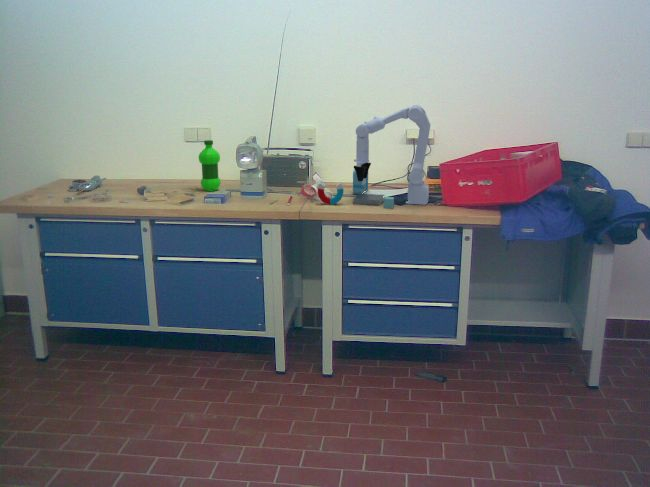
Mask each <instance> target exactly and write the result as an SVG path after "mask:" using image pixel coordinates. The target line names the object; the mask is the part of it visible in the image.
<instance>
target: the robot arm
mask: <svg viewBox="0 0 650 487" xmlns="http://www.w3.org/2000/svg"><path fill="white" fill-rule="evenodd" d="M400 119H402V120H403V119H404V120H407V119H409V120H410V121H412V122H413V123H415V124H416V126H417V127H418V128H419V131H418V137H417V142H416V148H415V153H414V160H413V165H412V169H411V171H410V173H409V175H408V180H409V181H408V182H407V183H408V184H407V185H408V187H407V200H408V201H407V200H406V201H405V204H407V205H410V204H411V205H421V206H422V205H423V206H424V205H425V206H426V205H427V204H428V202H429V194H430V191H429V190H430V184H426V183H425V182H424V181H423V179H424V177H425V176H424V175H425V171H424V166H425V165H424V164H425V158H426V153H427V148H428V142H429V137H430V136H429V135H430V132H431V131H430V130H431V122H430V119H429V118H428V115H427V113H426V110H424V108H423V107H422V106H421V105H418V104H415V105H412V106H407V107H405V108H402V109H399V110H398V111H395V112H393V113H391V114H389V115H387V116H385V117H381V116H374V117H373V119H370V120H369V121H364V122H363V123H361V124H359V125H358V126H357V127H356V128H355V134H356V144H355V145H356V157H355V158H356V159H353V162H355V163H356V165H354V166H353V169H354V170H355V171H356V174H357V179H358V181H363V178H367V174H368V175H369V169H370V167H371V166H372V165H371V164H372V162H370V160H369V159H370V158H369V157H370V156H369V155H370V153H369V152H370V138H369V137H370V136H369V135H372V134H375V133H377V132H379V131H382V130H384V129H385V126H386V125H388V124H390V123H392V122H395V121H398V120H400Z"/></svg>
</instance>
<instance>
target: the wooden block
mask: <svg viewBox="0 0 650 487" xmlns="http://www.w3.org/2000/svg"><path fill="white" fill-rule="evenodd" d="M382 207H383V209H390V210H391V209H392V210H393V208H394V207H395V196H384V201H383V206H382Z"/></svg>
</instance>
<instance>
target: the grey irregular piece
mask: <svg viewBox="0 0 650 487" xmlns="http://www.w3.org/2000/svg"><path fill="white" fill-rule="evenodd" d="M105 180H107V178H106V177H103V178H101V177H100V175H94V176H92V177H91V178H90V180H87V179H86V180H85V179H75V180H73V181H71V184H72V185H70V186H69V187H68V191H69V192H71V191H77V192H76V195H78V194H80V193H81V194H82V192H92V191H93V190H95V189H97V188H98V187H101V185H102V184H103V181H105Z"/></svg>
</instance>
